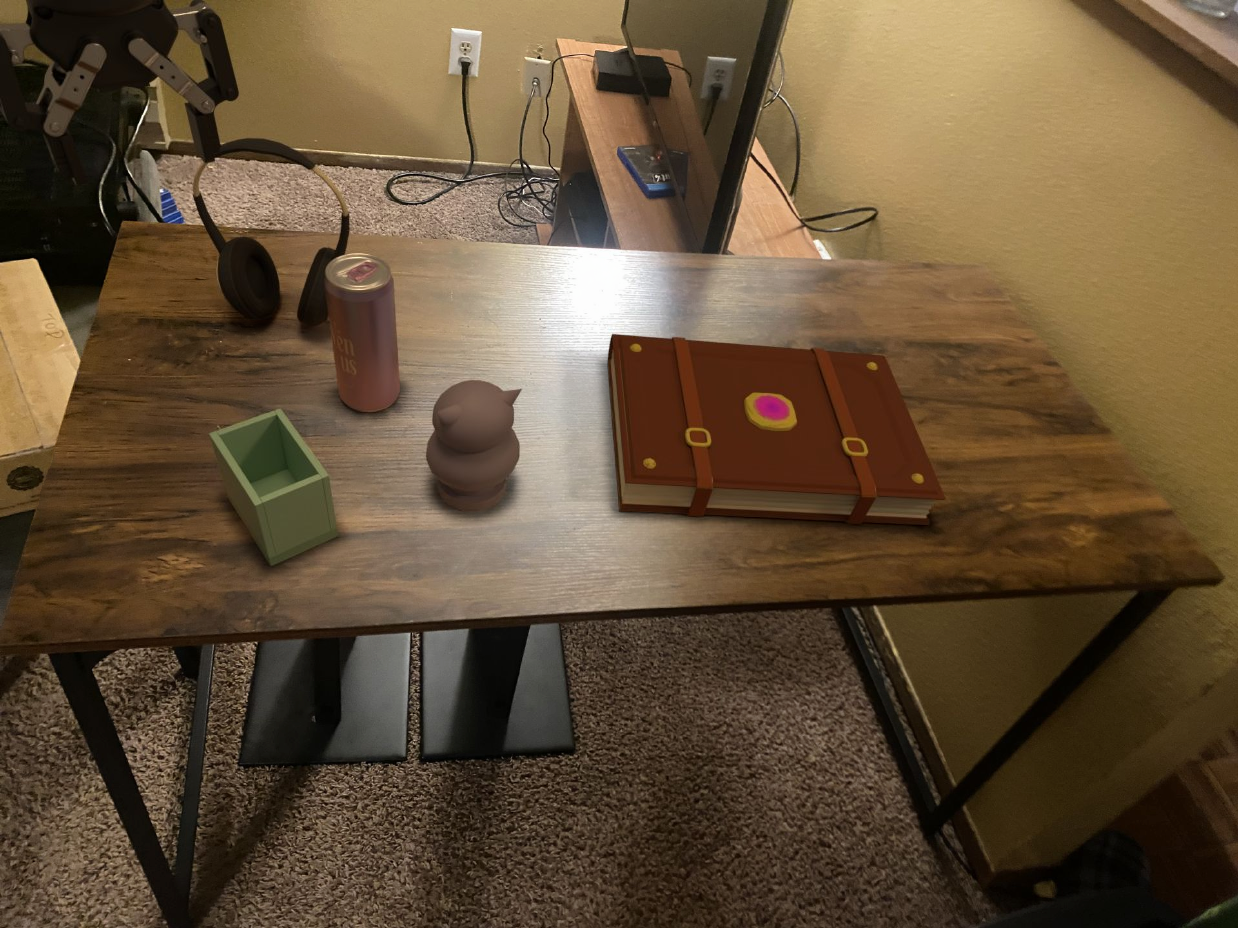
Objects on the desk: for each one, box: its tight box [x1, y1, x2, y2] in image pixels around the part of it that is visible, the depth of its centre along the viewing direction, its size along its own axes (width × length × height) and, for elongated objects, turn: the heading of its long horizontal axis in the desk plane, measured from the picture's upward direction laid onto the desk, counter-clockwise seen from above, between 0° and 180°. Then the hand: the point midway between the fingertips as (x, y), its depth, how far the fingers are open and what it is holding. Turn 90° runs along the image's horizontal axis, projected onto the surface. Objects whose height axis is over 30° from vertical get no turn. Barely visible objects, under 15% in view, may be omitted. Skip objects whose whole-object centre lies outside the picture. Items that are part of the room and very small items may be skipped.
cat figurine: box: [425, 379, 523, 513], centre depth 74 cm, size 8×8×12 cm
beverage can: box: [324, 252, 401, 413], centre depth 79 cm, size 6×6×15 cm
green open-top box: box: [208, 408, 339, 567], centre depth 70 cm, size 8×6×9 cm
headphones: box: [192, 137, 351, 328], centre depth 84 cm, size 9×15×20 cm, turn 90°
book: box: [607, 333, 947, 526], centre depth 87 cm, size 23×32×5 cm
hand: (144, 168), depth 60 cm, fingers open, 8 cm apart
